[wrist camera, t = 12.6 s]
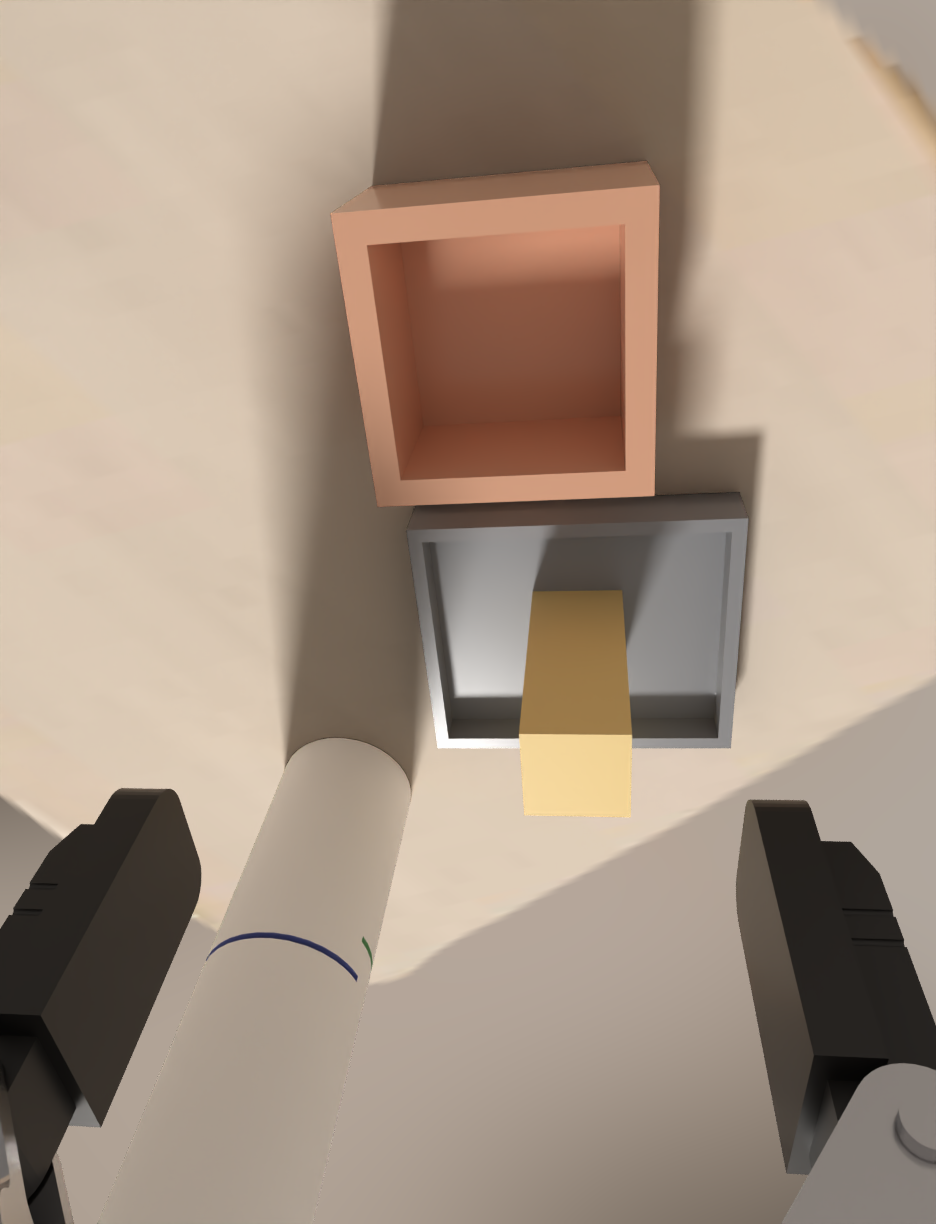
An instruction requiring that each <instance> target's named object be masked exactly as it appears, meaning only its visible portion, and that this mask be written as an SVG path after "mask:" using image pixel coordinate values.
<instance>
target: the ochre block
mask: <svg viewBox="0 0 936 1224" xmlns="http://www.w3.org/2000/svg"><path fill="white" fill-rule="evenodd" d="M519 743H520V758H521V773H522V788H523V803H524V815H539V816H589V817H631V765H632V727H631V712H630V698H629V683H628V668H627V654H626V639H625V625H624V610H623V596H622V590H599V591H533V592H532V602H531V613H530V623H529V633H528V644H527V654H526V665H525V675H524V686H523V696H522V707H521V717H520V728H519Z"/></svg>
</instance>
